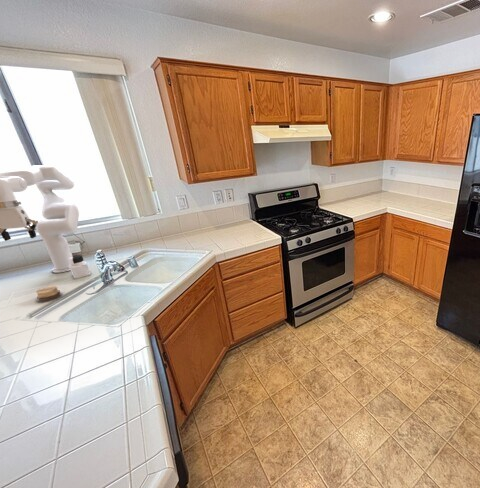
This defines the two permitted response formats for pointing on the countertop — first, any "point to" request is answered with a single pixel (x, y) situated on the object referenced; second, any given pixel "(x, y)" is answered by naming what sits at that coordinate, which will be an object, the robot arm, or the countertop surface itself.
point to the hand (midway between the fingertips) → (21, 238)
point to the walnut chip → (49, 297)
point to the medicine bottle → (78, 266)
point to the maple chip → (47, 291)
